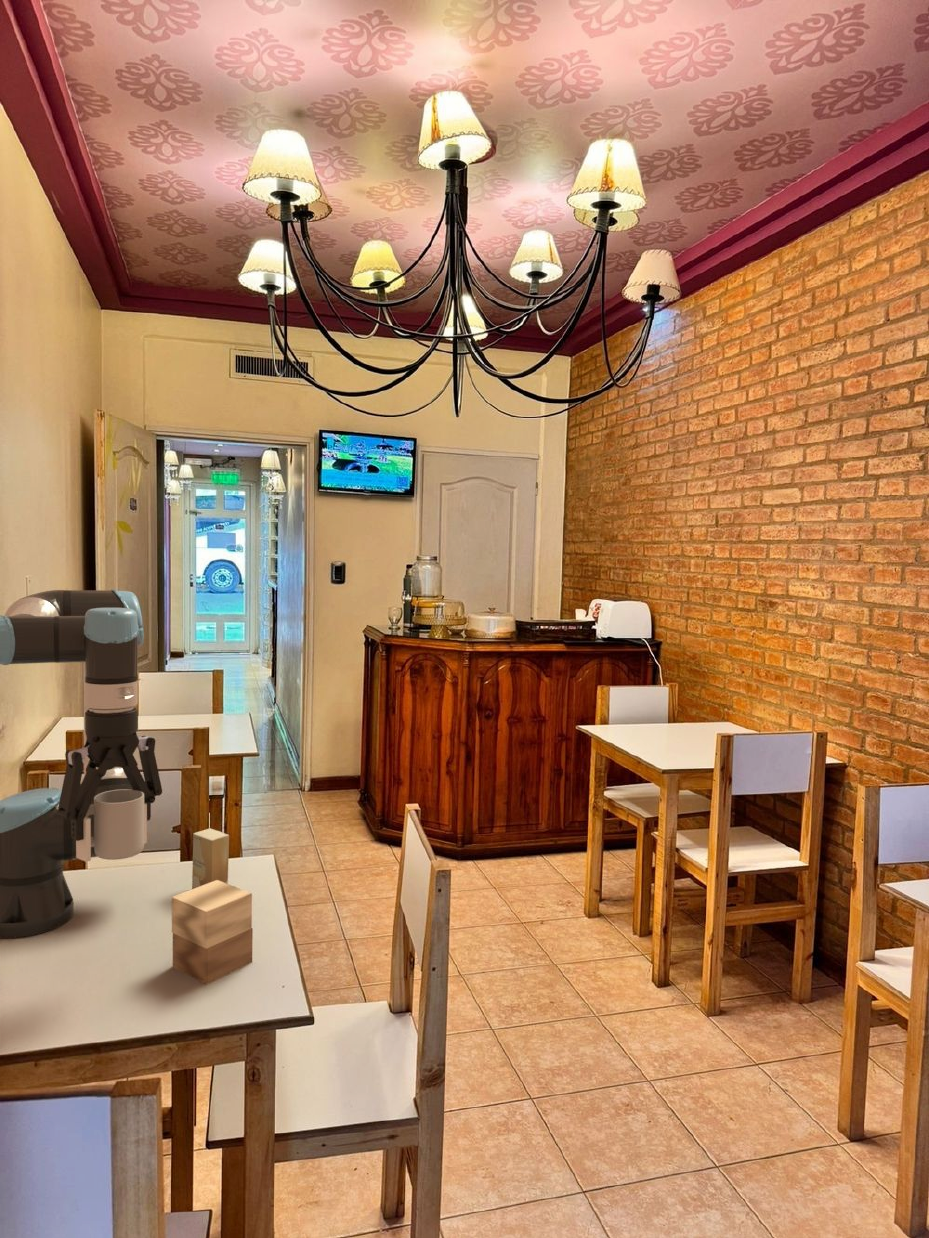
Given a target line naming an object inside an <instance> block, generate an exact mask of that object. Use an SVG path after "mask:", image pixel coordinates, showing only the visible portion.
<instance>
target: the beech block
mask: <svg viewBox="0 0 929 1238" xmlns="http://www.w3.org/2000/svg"><path fill="white" fill-rule="evenodd" d="M252 902H253V893H252V892H249V891H246V890H244V889H241V888H239V887H237V886H234V885H232V884H229V883H228V884H226V883H224V882H221V881H219V880H216V881H213V882H210V883H208V884H205V885H202V886H200V887H197V888H194V889H192V888H191V889H189V890H187V891H184V892H182V893H179V894H175V895H174V896H171V933H172V934H173V933H174V934H176V935H178V936H180V937H182V938H185V939H187V940H189V941H191V942H193V943H195V944H197V945H199V946H202V947H204V948H206V949H207V948H209V947H211V946H214V945H216V944H218V943H220V942H223V941H225V940H227V939H229V938H231V937H234V936H236V935H238V934H240V933H242V932H245V931H247V930H249V929H251V928H253V927H252V926H253V925H252V922H253V921H252V920H253V919H252V918H253V916H252V915H253V913H252V911H253V903H252Z"/></svg>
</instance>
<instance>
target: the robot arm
mask: <svg viewBox="0 0 929 1238" xmlns="http://www.w3.org/2000/svg"><path fill="white" fill-rule="evenodd" d="M140 606H141V605H140V602H139V599H138V597H137V596H136V594H135V593H134V592H132V591H129V590H116V589H110V590H100V589H99V590H91V589H90V590H89V589H88V590H87V589H86V590H81V589H80V590H74V589H73V590H69V589H67V590H65V589H53V590H47V591H41V592H37V593H33V594H29V595H27V596H23V597H22V598H19V599H18V600H16V601H14V602H13V603H12V604H10V606H9V607H8V608H7V610H6V612H5V613H4V615H0V665H1V666H9V665H18V664H19V665H23V664H51V663H53V664H58V663H60V664H61V663H63V664H64V663H65V664H66V663H83V664H82V666H83V671H82V672H83V675H82V676H83V677H82V678H83V683H82V684H83V685H82V686H83V747H81V748H78V749H76V750H72V749H68V750H66V751H65V752H64V753H65V754H64V756H65V757H64V758H65V761H66V763H65V764H66V768H65V773H64V776H63V783H62V787H61V789H60V788H56V787H50V788H49V787H42V788H34V789H29V790H25V791H21V792H17V793H14V794H12V795H10V796H9V795H8V796H7V797H5V798H3V799H1V800H0V939H1V938H2V939H8V938H9V939H10V938H11V939H13V938H23V937H24V938H25V937H30V936H34V935H38V934H43V933H45V932H49V931H52V930H54V929H56V928H59V927H61V926H62V925H64V924H65V923H67V922H68V921H70V920H71V919H72V918H73V915H74V913H75V908H74V907H75V906H74V905H75V902H74V898H73V895H72V893H71V890H70V888H69V885H68V882H67V880H66V877H65V875H64V862H65V861H73V860H80V861H84V862H85V863H87V862H90V861H92V858H97V857H98V856H97V855H96V854H95V850H94V847H91V837H94V814H92V815H89V816H88V817H85V816H86V814H87V812H88V809H89V807H90V805H91V804H94V797H95V796H96V795H98V794H100V793H103V792H107V791H112V790H121V789H132V790H138V791H141V792H143V793H144V845H145V844H147V843H148V835H147V834H148V821H150V820H151V817H152V816H151V814H152V811H151V809H152V807H151V806H152V805H151V804H153V803H155V801H156V797H157V796H158V797H159V796H161V795H162V794H163V788H162V783H161V779H160V778H161V777H160V773H159V768H158V764H157V759H156V753H155V749H156V739H155V738H154V737H151V736H147V735H142V736H140V737H138V735H137V733H138V732H137V731H138V730H139V710H138V709H137V708H136V707H137V705H138V703H139V702H138V701H139V698H138V697H139V690H138V689H139V682H138V681H139V675H138V663H139V660H138V659H139V658H138V657H139V647H140V646H142V645H143V644H144V638H145V635H144V634H145V633H144V632H145V631H144V627H143V626H144V625H143V617H142V611H141V607H140ZM136 750H138V756H139V760H140V764H141V769H142V772H141V771H140V769H139V767H138V765H139V764H138V762H137V760H136V758H135V756H134V753H135V752H136ZM141 773H142V774H143V775H142V774H141ZM83 775H84V776H83ZM82 776H83V777H82ZM98 858H99V857H98Z"/></svg>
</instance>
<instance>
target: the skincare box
mask: <svg viewBox="0 0 929 1238" xmlns="http://www.w3.org/2000/svg"><path fill="white" fill-rule="evenodd" d="M192 841H193V842H192V844H193V845H192V872H191V873H192V876H191V879H192V881H191V882H192V883H191V890H192V889H194V888H197V887H200V886H202V885H205V884H208V883H210V882H213V881H216V880H219V881H221V882H224V883H226V884H229V854H230V848H229V847H230V835H229V834H227V833H225V832H222V831H219V830H216V829H213V828H211V827H209V828H207V829H204V830H200V831H196V832H194V833H193V835H192Z"/></svg>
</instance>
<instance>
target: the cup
mask: <svg viewBox="0 0 929 1238" xmlns="http://www.w3.org/2000/svg"><path fill="white" fill-rule="evenodd" d="M92 814H94V837H91V847H94V850H95V854H96V855H97V856H98V858H99V859H102V860H112V861H114V860H117V861H118V860H124V859H128V858H129V859H130V858H132V857H136V856H137V855H140V853H142V851H143V850H144V848H145V844H144V793H143V792H141V791H138V790H132V789H121V790H112V791H107V792H103V793H100V794H98V795H96V796H95V797H94V804H91V805H90V807H89V809H88V812H87V814H86V816H85V817H88V816H89V815H92Z"/></svg>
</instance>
